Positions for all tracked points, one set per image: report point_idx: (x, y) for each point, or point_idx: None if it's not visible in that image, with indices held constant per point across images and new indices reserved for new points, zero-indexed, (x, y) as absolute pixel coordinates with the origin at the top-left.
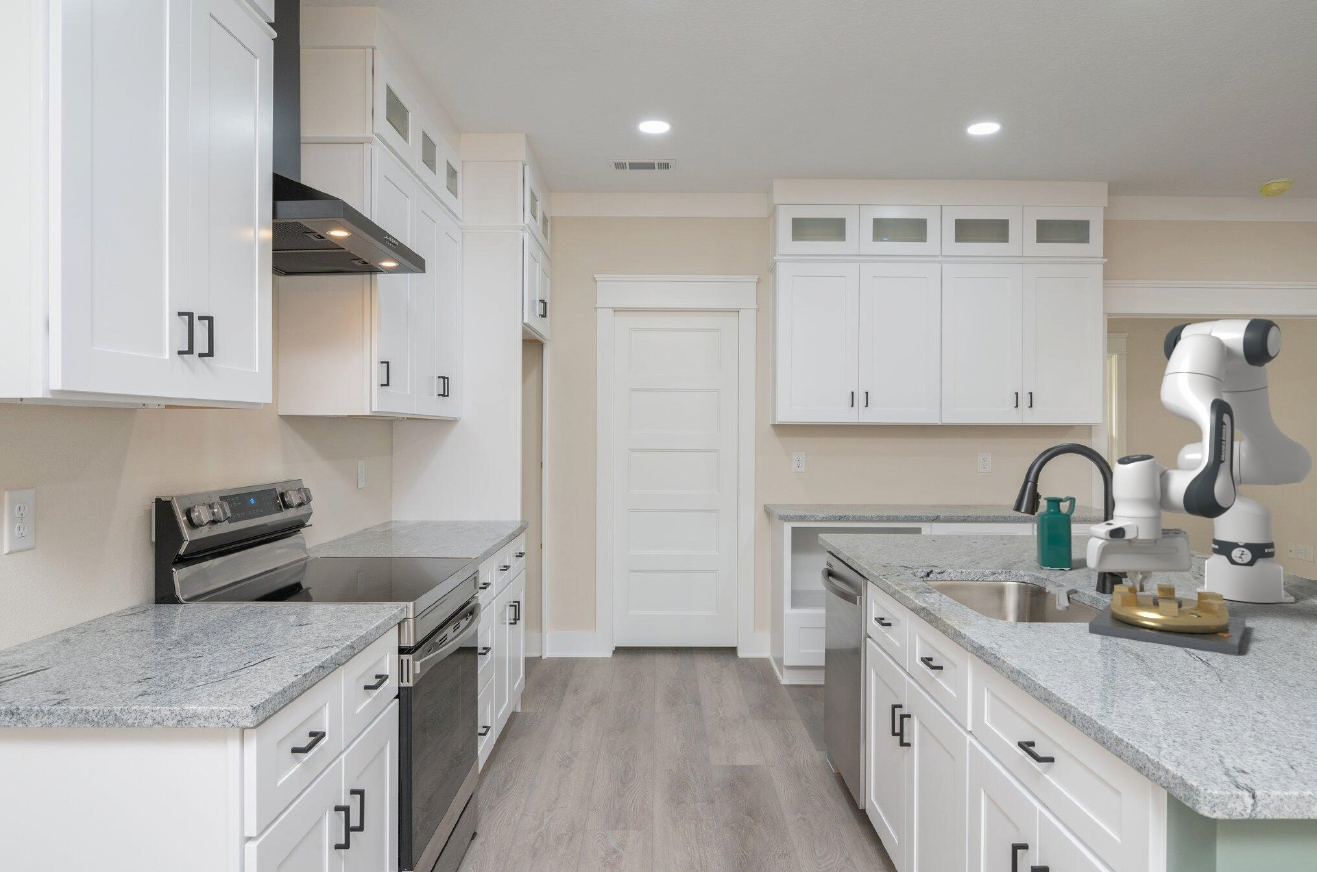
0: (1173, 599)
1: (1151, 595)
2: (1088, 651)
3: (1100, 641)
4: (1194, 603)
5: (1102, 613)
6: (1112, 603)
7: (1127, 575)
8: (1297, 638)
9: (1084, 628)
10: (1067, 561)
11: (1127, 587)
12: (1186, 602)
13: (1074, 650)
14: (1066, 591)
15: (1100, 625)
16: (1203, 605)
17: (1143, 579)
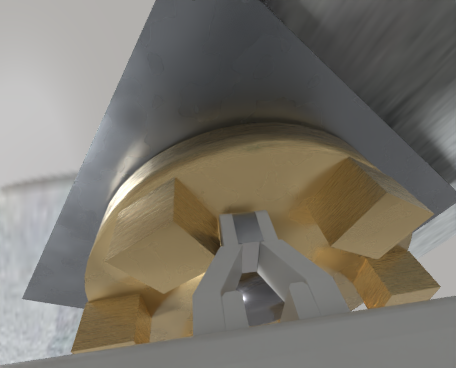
0: (281, 302)
1: (312, 167)
2: (31, 350)
3: (58, 312)
4: (356, 259)
5: (76, 204)
6: (87, 291)
7: (193, 300)
8: (446, 233)
9: (23, 244)
10: None
11: (163, 289)
12: (344, 252)
13: (5, 352)
14: None
15: (54, 302)
16: None
17: (278, 281)
